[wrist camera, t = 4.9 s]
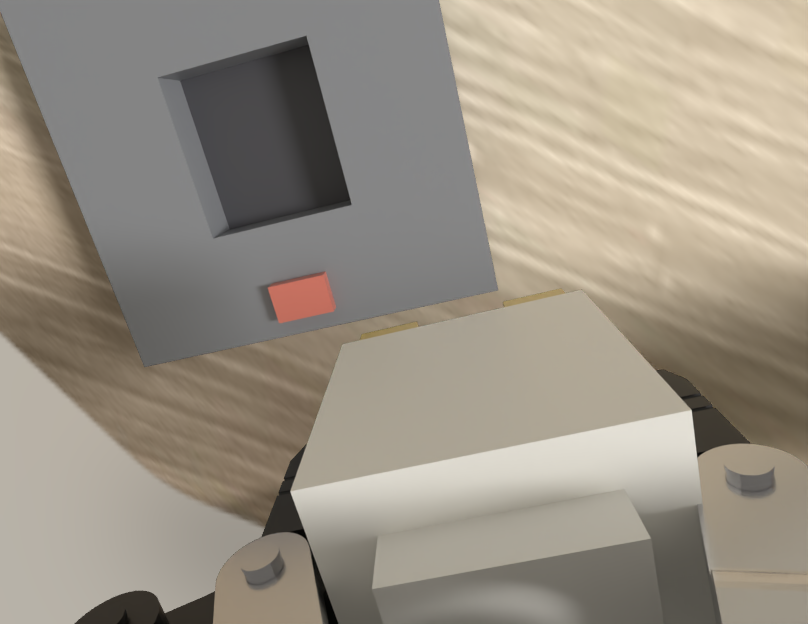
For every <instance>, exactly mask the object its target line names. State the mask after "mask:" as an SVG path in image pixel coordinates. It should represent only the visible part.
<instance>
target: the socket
mask: <svg viewBox="0 0 808 624" xmlns="http://www.w3.org/2000/svg"><path fill="white" fill-rule="evenodd" d="M0 12H1V15H2V17H3V19H4V22H5V24H6V27H7V29H8V32H9V34H10V37H11V39H12V42H13V44H14V47H15V49H16V52H17V54H18V56H19V59H20V61H21V64H22V66H23V69H24V71H25V74H26V76H27V79H28V81H29V84H30V86H31V89H32V91H33V93H34V96H35V98H36V101H37V103H38V106H39V108H40V111H41V113H42V116H43V118H44V121H45V123H46V125H47V128H48V130H49V133H50V135H51V138H52V140H53V143H54V145H55V148H56V150H57V153H58V155H59V158H60V160H61V162H62V165H63V167H64V170H65V172H66V175H67V177H68V180H69V182H70V185H71V187H72V190H73V192H74V195H75V197H76V199H77V202H78V204H79V207H80V209H81V212H82V214H83V217H84V219H85V222H86V224H87V227H88V229H89V232H90V234H91V236H92V239H93V241H94V244H95V246H96V249H97V251H98V254H99V256H100V259H101V261H102V264H103V266H104V268H105V271H106V273H107V276H108V278H109V281H110V283H111V286H112V288H113V291H114V293H115V296H116V298H117V301H118V303H119V305H120V308H121V310H122V313H123V315H124V318H125V320H126V323H127V325H128V328H129V330H130V333H131V335H132V338H133V340H134V342H135V345H136V347H137V350H138V352H139V355H140V357H141V360H142V362H143V365H144V367H147V366H152V365H157V364H161V363H166V362H170V361H175V360H180V359H184V358H189V357H193V356H198V355H203V354H207V353H212V352H216V351H221V350H226V349H230V348H235V347H239V346H244V345H249V344H253V343H258V342H262V341H267V340H272V339H276V338H281V337H286V336H290V335H295V334H299V333H304V332H309V331H313V330H318V329H322V328H327V327H332V326H336V325H341V324H345V323H350V322H355V321H359V320H364V319H368V318H373V317H378V316H382V315H387V314H391V313H396V312H401V311H405V310H410V309H414V308H419V307H424V306H428V305H433V304H437V303H442V302H447V301H451V300H456V299H460V298H465V297H470V296H474V295H479V294H483V293H488V292H493V291H497V290H498V287H497V282H496V277H495V272H494V267H493V263H492V258H491V253H490V248H489V243H488V238H487V233H486V228H485V223H484V219H483V214H482V209H481V204H480V199H479V194H478V189H477V184H476V179H475V175H474V170H473V165H472V160H471V155H470V150H469V145H468V140H467V135H466V131H465V126H464V121H463V116H462V111H461V106H460V101H459V96H458V91H457V87H456V82H455V77H454V72H453V67H452V62H451V57H450V52H449V47H448V43H447V38H446V33H445V28H444V23H443V18H442V13H441V8H440V3H439V0H0Z"/></svg>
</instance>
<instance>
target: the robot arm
mask: <svg viewBox="0 0 808 624" xmlns="http://www.w3.org/2000/svg"><path fill="white" fill-rule="evenodd" d="M657 373H658V374H659V375H660V376H661V377H662V378H663V379H664V380H665V381H666V382H667V384H668V385H669V386H670V387H671V388H672V389H673V390H674V391H675V392H676V393H677V395H678V396H679V397H680V398H681V399H682V400H683V401H684V402H685V403H686V404H687V406H688V407H689V408H690V409H691V410H692V418H693V426H694V435H695V443H696V452H697V460H698V469H699V478H700V486H701V495H702V504H697V508H698V516H699V525H700V533H701V540H702V546H703V551H704V557H705V562H706V568H707V574H708V579H709V585H710V590H711V596H712V602H713V607H714V613H715V620H716V624H808V466H807V465H806V464H805V463H804V462H803V461H801V460H800V459H798V458H797V457H795V456H794V455H792V454H790V453H788V452H785V451H783V450H780V449H777V448H773V447H769V446H764V445H758V444H750V442H749V441H748V440H747V439H746V438H745V437H744V436H743V435H742V434H741V433H740V432H739V431H738V430H737V429H736V428H735V427H734V426H733V425H732V424H731V423H730V422H729V421H728V420H727V419H726V418H725V417H724V416H723V415H722V414H721V413H720V412H719V411H718V410H717V409H716V408H713V407H712V404H711V403H710V402H709V401H708V400H707V399H706V398H705V397H704V396H701V394H700V392H699V391H698V390H697V389H696V388H695V387H694V386H693V385H692V384H691V383H690V382H689V381H688V380H687V379H685V378H683V377H680V376H678V375H675V374H673V373H670V372H668V371H666V370H658V371H657ZM306 446H307V444H306V445H305V446H304V447H303V448H302V449H301V451H300V452H299V453H298V454H297V455H296V456H295V457H294V458H293V459H292V460H291V461H290V464H289V467H288V469H287V472H286V474H285V477H284V480H285V481H283V482H282V485H281V487H280V490H279V496H277V498H276V500H275V503H274V506H273V508H272V511H271V513H270V516H269V519H268V521H267V524H266V527H265V529H264V532H263V534H262V537H261V538H259V539H256V540H254V541H252V542H251V543H249V544H247V545H245V546H244V547H242V548H241V549H239V550H238V551H237V552H236V553H235V554H233V555H232V556H231V557H230V559H228V561H227V562H226V563H225V564H224V565H223V567H222V569H221V570H220V572H219V574H218V576H217V579H216V586H215V587H216V588H215V591H214V592H213V593H211V594H208V595H207V596H204V597H202V598H200V599H197V600H195V601H193V602H190V603H188V604H186V605H183V606H181V607H179V608H176V609H174V610H172V611H169V612H167V613H164V611H163V609H162V607H161V605H160V603H159V601H158V598H157V597H156V596H155V595H154V594H153V593H151V592H147V591H133V592H128V593H124V594H121V595H118V596H116V597H113V598H111V599H109V600H107V601H105V602H104V603H102V604H100V605H98V606H97V607H95V608H94V609H92V610H91V611H90V612H88V613H86V614H85V615H84V616H83V617H82V618H80V619H79V620H78V621H77V622H76V623H75V624H338V621H337V618H336V616H335V613H334V610H333V607H332V605H331V602H330V599H329V596H328V594H327V591H326V588H325V585H324V583H323V580H322V577H321V574H320V572H319V569H318V566H317V563H316V561H315V558H314V555H313V552H312V550H311V547H310V544H309V541H308V539H307V536H306V533H305V531H304V528H303V525H302V522H301V520H300V517H299V514H298V511H297V509H296V506H295V503H294V500H293V498H292V495H291V492H290V491H291V488H292V485H293V482H294V479H295V477H296V474H297V471H298V468H299V465H300V463H301V460H302V457H303V454H304V451H305V448H306Z"/></svg>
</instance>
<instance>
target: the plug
mask: <svg viewBox="0 0 808 624" xmlns="http://www.w3.org/2000/svg"><path fill="white" fill-rule="evenodd" d="M503 305H504V307H503V308H499V309H494V310H490V311H486V312H481V313H477V314H473V315H468V316H464V317H459V318H455V319H451V320H446V321H442V322H437V323H433V324H429V325H424V326H420V327H419V326H418V323H417V322H413V323H408V324H404V325H400V326H395V327H391V328H387V329H382V330H378V331H374V332H369V333H365V334H362V335H361V338H360V340H359V341H354V342H350V343H346V344H342V347H341V350H340V353H339V355H338V358H337V361H336V364H335V367H334V370H333V372H332V375H331V378H330V381H329V384H328V386H327V389H326V392H325V395H324V398H323V401H322V403H321V406H320V409H319V412H318V415H317V417H316V420H315V423H314V426H313V429H312V432H311V434H310V437H309V440H308V443H307V446H306V448H305V451H304V454H303V457H302V460H301V463H300V465H299V468H298V471H297V474H296V477H295V479H294V482H293V485H292V488H291V491H290V492H291V495H292V498H293V500H294V503H295V506H296V509H297V511H298V514H299V517H300V520H301V522H302V525H303V528H304V531H305V533H306V536H307V539H308V541H309V544H310V547H311V550H312V552H313V555H314V558H315V561H316V563H317V566H318V569H319V572H320V574H321V577H322V580H323V583H324V585H325V588H326V591H327V594H328V596H329V599H330V602H331V605H332V607H333V610H334V613H335V616H336V618H337V621H338V624H716V620H715V613H714V607H713V602H712V596H711V590H710V585H709V579H708V574H707V568H706V562H705V557H704V551H703V546H702V540H701V533H700V525H699V516H698V508H697V504H702V495H701V486H700V478H699V469H698V460H697V452H696V443H695V435H694V426H693V418H692V410H691V409H690V408H689V407H688V406H687V404H686V403H685V402H684V401H683V400H682V399H681V398H680V397H679V396H678V395H677V393H676V392H675V391H674V390H673V389H672V388H671V387H670V386H669V385H668V384H667V382H666V381H665V380H664V379H663V378H662V377H661V376H660V375H659V374H658V373H657V371H656V370H655V369H654V368H653V367H652V366H651V365H650V364H649V363H648V362H647V360H646V359H645V358H644V357H643V356H642V355H641V354H640V353H639V352H638V351H637V349H636V348H635V347H634V346H633V345H632V344H631V343H630V342H629V341H628V340H627V338H626V337H625V336H624V335H623V334H622V333H621V332H620V331H619V330H618V329H617V327H616V326H615V325H614V324H613V323H612V322H611V321H610V320H609V319H608V318H607V316H606V315H605V314H604V313H603V312H602V311H601V310H600V309H599V308H598V307H597V305H596V304H595V303H594V302H593V301H592V300H591V299H590V298H589V297H588V296H587V294H586V293H585V292H584V291H583V290H578V291H573V292H569V293H565V292H564V291H563V290H562V289H557V290H552V291H548V292H544V293H539V294H535V295H531V296H526V297H522V298H517V299H513V300H509V301H504V302H503Z"/></svg>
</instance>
